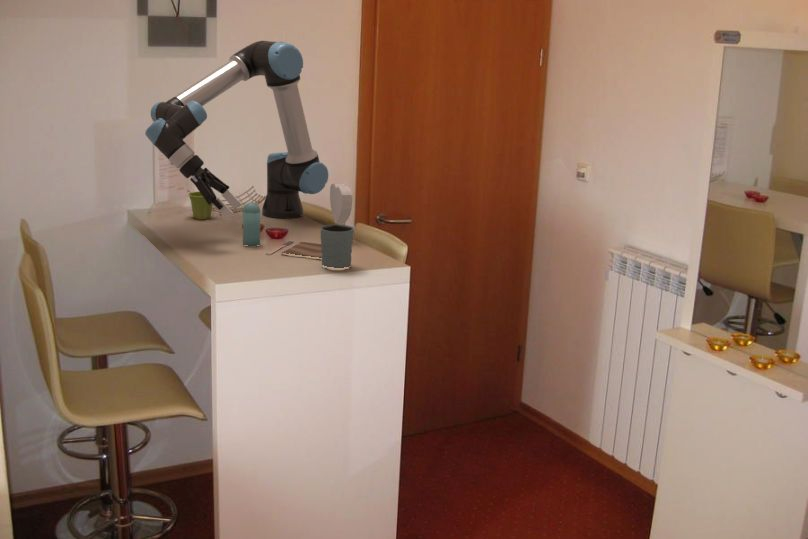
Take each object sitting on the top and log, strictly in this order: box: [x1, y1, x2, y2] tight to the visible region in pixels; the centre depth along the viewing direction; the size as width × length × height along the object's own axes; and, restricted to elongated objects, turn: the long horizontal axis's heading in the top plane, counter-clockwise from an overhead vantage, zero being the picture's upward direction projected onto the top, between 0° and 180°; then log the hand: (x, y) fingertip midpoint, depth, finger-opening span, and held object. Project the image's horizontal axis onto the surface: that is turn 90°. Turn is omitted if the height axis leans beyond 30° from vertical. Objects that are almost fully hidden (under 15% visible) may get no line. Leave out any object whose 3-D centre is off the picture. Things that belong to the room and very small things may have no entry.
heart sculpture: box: [329, 183, 353, 225], centre depth 311 cm, size 16×5×18 cm, turn 19°
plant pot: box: [187, 191, 213, 220], centre depth 332 cm, size 9×9×9 cm
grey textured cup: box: [319, 224, 355, 268], centre depth 276 cm, size 10×10×12 cm
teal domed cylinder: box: [242, 202, 261, 247], centre depth 297 cm, size 6×6×14 cm
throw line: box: [282, 240, 294, 246], centre depth 296 cm, size 18×2×1 cm, turn 163°
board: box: [281, 241, 322, 258], centre depth 293 cm, size 16×14×1 cm
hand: (234, 211), depth 295 cm, fingers open, 13 cm apart
